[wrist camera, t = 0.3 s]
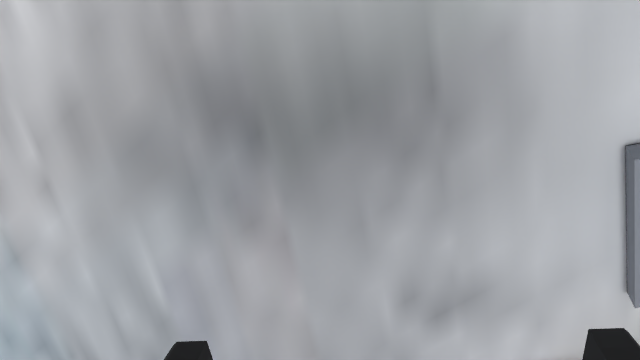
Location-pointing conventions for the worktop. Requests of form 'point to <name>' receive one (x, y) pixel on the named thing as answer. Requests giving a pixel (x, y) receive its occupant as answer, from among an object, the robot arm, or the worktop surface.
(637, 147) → the fulcrum
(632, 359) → the robot arm
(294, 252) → the worktop surface
